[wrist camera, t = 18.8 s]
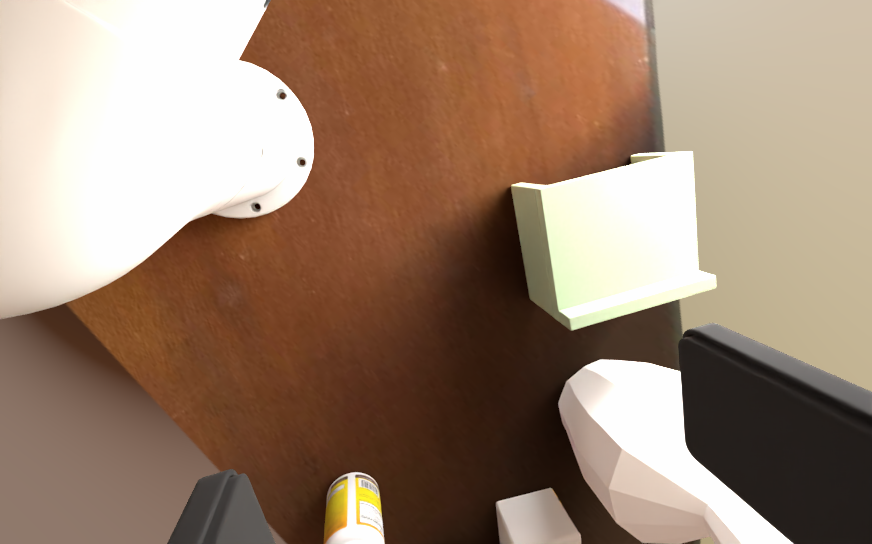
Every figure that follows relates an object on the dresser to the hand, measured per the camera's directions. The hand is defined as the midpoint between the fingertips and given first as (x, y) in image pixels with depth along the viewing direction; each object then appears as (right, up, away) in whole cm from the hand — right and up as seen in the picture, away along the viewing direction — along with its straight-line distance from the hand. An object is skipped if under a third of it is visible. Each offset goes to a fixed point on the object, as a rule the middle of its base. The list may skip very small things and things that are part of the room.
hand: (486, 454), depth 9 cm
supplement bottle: (-10, -20, +38) cm, 44 cm away
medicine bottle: (+10, -26, +43) cm, 51 cm away
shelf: (+14, +8, +36) cm, 39 cm away
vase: (+17, -10, +41) cm, 45 cm away
